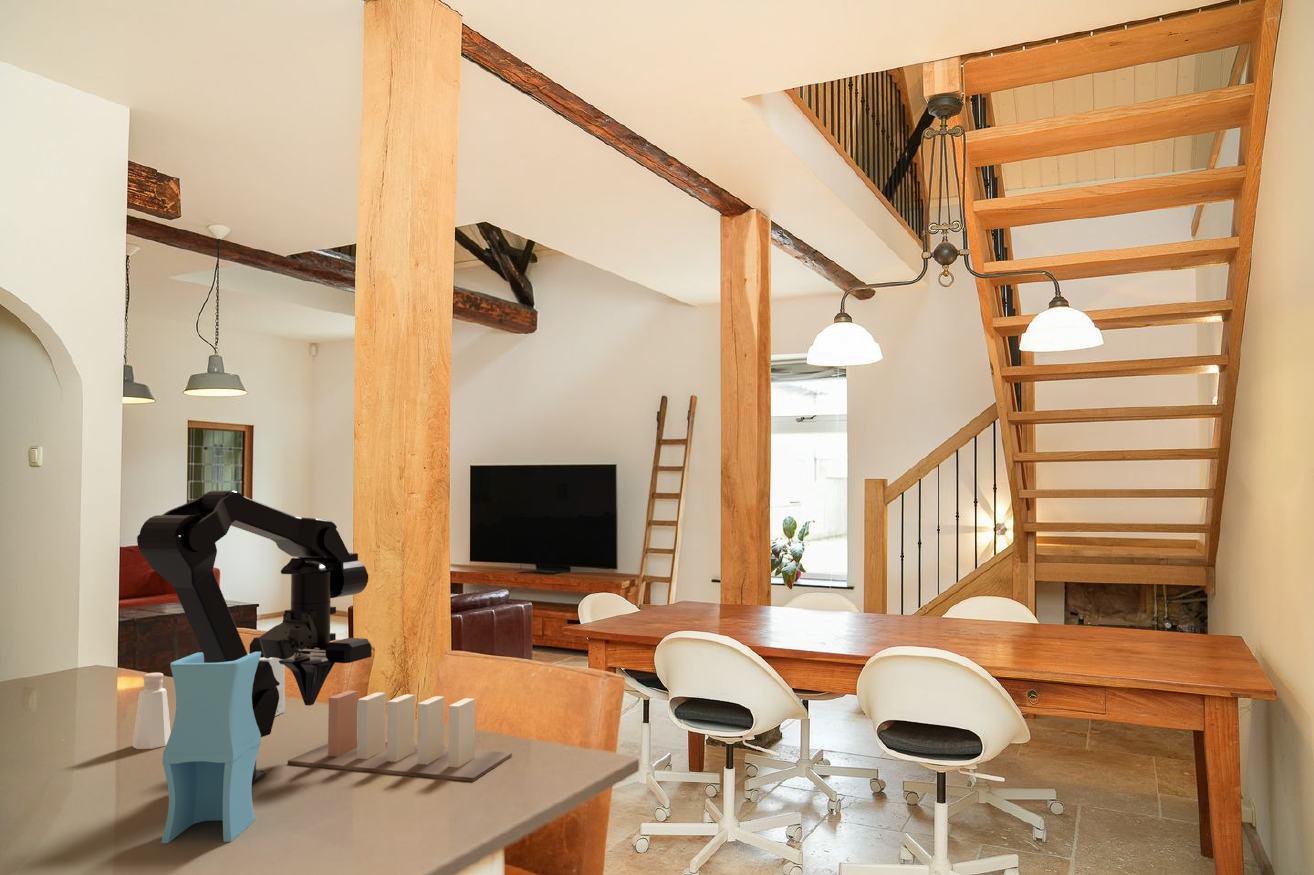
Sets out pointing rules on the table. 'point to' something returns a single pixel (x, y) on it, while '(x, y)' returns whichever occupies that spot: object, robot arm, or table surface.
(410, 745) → the domino
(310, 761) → the walnut board
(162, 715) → the pepper shaker
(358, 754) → the domino
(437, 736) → the domino
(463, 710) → the domino
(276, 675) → the small box
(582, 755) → the table surface
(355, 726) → the terracotta domino
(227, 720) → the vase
